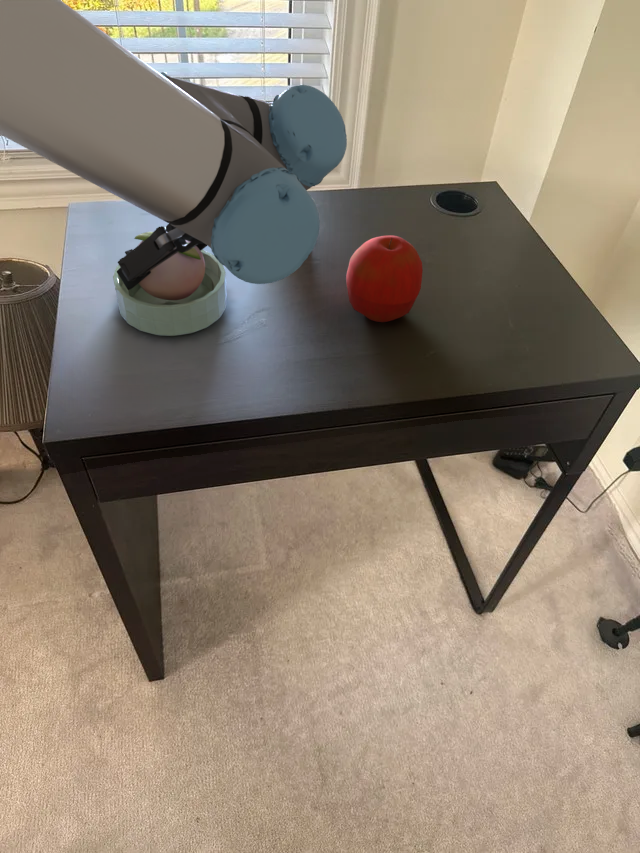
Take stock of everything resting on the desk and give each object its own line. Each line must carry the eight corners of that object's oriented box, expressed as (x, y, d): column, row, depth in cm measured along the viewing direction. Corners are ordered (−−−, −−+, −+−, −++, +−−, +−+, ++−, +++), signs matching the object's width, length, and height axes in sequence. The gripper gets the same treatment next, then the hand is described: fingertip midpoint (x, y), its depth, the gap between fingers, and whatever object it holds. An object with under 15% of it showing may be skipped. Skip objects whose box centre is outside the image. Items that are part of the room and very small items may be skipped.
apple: (377, 281, 94) (388, 208, 86) (430, 314, 89) (447, 241, 81) (328, 308, 89) (335, 233, 80) (381, 344, 84) (395, 269, 76)
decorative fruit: (126, 312, 84) (112, 244, 77) (150, 277, 89) (140, 211, 82) (195, 324, 83) (188, 257, 76) (215, 288, 88) (210, 223, 81)
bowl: (127, 347, 81) (121, 315, 77) (113, 282, 90) (107, 251, 86) (237, 329, 84) (236, 298, 81) (214, 269, 93) (212, 239, 90)
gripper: (172, 269, 62) (101, 326, 80) (320, 195, 73) (229, 259, 91) (129, 197, 60) (66, 272, 78) (287, 133, 72) (201, 211, 90)
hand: (154, 265), depth 85 cm, fingers closed on decorative fruit, 9 cm apart
